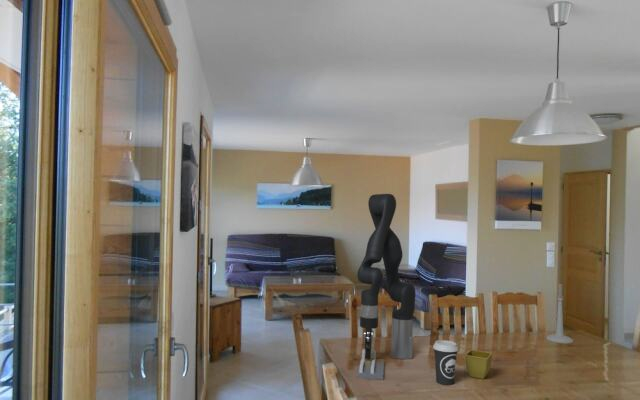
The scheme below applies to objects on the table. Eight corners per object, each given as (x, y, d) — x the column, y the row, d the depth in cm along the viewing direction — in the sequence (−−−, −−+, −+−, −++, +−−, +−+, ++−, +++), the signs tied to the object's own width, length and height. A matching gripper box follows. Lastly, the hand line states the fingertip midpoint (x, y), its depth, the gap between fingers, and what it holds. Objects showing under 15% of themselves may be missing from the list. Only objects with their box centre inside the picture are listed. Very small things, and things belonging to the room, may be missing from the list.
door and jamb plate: (384, 363, 206) (384, 350, 206) (383, 379, 185) (383, 365, 185) (360, 361, 207) (361, 348, 207) (357, 377, 186) (357, 363, 187)
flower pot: (487, 382, 185) (487, 358, 186) (464, 377, 190) (464, 354, 190) (492, 375, 193) (492, 353, 193) (470, 371, 197) (470, 349, 198)
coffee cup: (458, 380, 187) (459, 341, 187) (457, 388, 178) (458, 347, 178) (433, 376, 190) (434, 338, 190) (430, 384, 181) (431, 344, 181)
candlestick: (540, 337, 257) (541, 281, 258) (561, 336, 260) (561, 281, 261) (558, 343, 245) (558, 284, 246) (579, 342, 248) (579, 284, 249)
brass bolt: (372, 360, 204) (372, 341, 204) (371, 366, 196) (371, 346, 196) (365, 359, 204) (365, 340, 205) (364, 365, 196) (364, 345, 197)
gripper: (377, 319, 191) (376, 363, 190) (378, 312, 205) (377, 353, 204) (358, 318, 192) (357, 361, 191) (361, 311, 206) (360, 352, 205)
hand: (368, 357), depth 198 cm, fingers closed on brass bolt, 3 cm apart
